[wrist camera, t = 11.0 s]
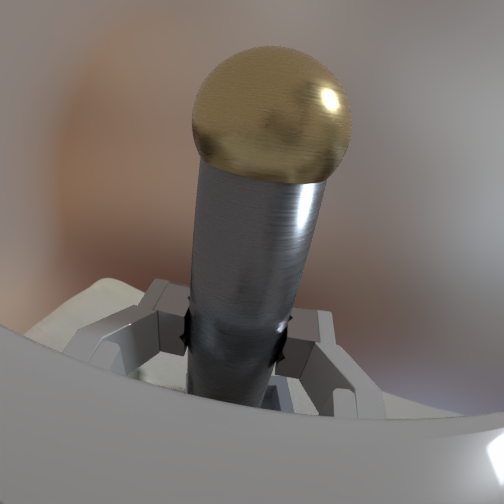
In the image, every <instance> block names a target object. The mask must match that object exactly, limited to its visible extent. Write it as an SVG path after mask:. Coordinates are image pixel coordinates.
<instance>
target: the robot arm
mask: <svg viewBox="0 0 504 504" xmlns="http://www.w3.org/2000/svg"><path fill="white" fill-rule="evenodd" d="M189 300H190V286H188V285H183V284H179V283H175V282H170V281H166V280H162V279H158V278H157V279H155V280H154V281H153V283H152V284H151V286H150V287H149V289H148V290H147V292H146V293H145V295H144V297H143V298H142V300H141V301H140V303H139V304H138V306H136V305H133V306H130V307H128V308H126V309H124V310H121V311H119V312H117V313H115V314H112V315H110V316H108V317H106V318H103V319H101V320H99V321H96V322H94V323H92V324H90V325H87V326H85V327H83V328H81V329H78V331H77V332H76V333H75V335H74V336H73V337H72V339H71V340H70V342H69V343H68V344H67V346H66V347H65V349H64V350H63V352H62V353H61V352H58V351H56V350H54V349H51V348H49V347H47V346H44V345H42V344H40V343H38V342H36V341H33V340H31V339H29V338H27V337H25V336H23V335H21V334H19V333H16V332H14V331H12V330H10V329H8V328H6V327H4V326H3V325H1V324H0V504H504V411H502V412H495V413H487V414H480V415H470V416H459V417H446V418H428V419H387V417H386V411H385V406H384V400H383V395H382V391H381V390H380V389H379V388H378V387H377V385H376V384H375V383H374V382H373V381H372V380H371V379H370V378H369V377H368V376H367V375H366V373H365V372H364V371H363V370H362V369H361V368H360V367H359V366H358V365H357V364H356V363H355V362H354V360H353V359H352V358H351V357H350V356H349V355H348V354H347V353H346V352H345V351H344V349H342V348H341V346H339V345H336V343H335V334H334V327H333V320H332V314H331V312H327V311H321V310H311V309H305V308H299V307H292V311H291V314H290V317H289V321H288V324H287V327H286V330H285V334H284V337H283V340H282V343H281V346H280V349H279V352H278V356H277V359H276V365H275V375H279V376H285V377H291V378H296V379H299V381H300V382H301V384H302V386H303V387H304V389H305V391H306V392H307V394H308V396H309V397H310V399H311V401H312V402H313V404H314V406H315V407H316V409H317V411H318V412H319V415H318V416H317V415H307V414H298V413H290V412H282V411H275V410H268V409H262V408H256V407H250V406H244V405H238V404H233V403H228V402H223V401H218V400H213V399H209V398H204V397H200V396H195V395H191V394H187V393H183V392H179V391H175V390H171V389H167V388H164V387H160V386H156V385H153V384H149V383H146V382H143V381H139V380H136V379H133V378H130V377H126V376H127V375H128V374H130V373H131V372H133V371H134V370H135V369H137V368H138V367H140V366H141V365H143V364H144V363H145V362H147V361H148V360H150V359H151V358H152V357H154V356H155V355H157V354H158V353H159V351H162V352H166V353H170V354H175V355H179V356H184V354H185V352H186V349H187V346H188V325H189Z"/></svg>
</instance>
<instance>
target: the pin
mask: <svg viewBox="0 0 504 504" xmlns="http://www.w3.org/2000/svg"><path fill="white" fill-rule="evenodd" d="M351 130H352V118H351V110H350V106H349V103H348V99H347V97H346V94H345V92H344V90H343V88H342V86H341V85H340V83H339V81H338V80H337V79H336V78H335V76H334V75H333V74H332V73H331V72H330V71H329V70H328V69H327V68H326V67H325V66H324V65H323V64H322V63H320V62H319V61H317V60H316V59H314V58H313V57H311V56H309V55H307V54H305V53H303V52H300V51H297V50H294V49H290V48H286V47H278V46H264V47H255V48H251V49H248V50H244V51H242V52H239V53H237V54H234V55H233V56H231V57H229V58H228V59H226V60H224V61H223V62H222V63H221V64H219V65H218V66H217V67H216V68H215V69H214V70H213V71H212V72H211V73H210V74H209V75H208V77H207V78H206V79H205V81H204V82H203V84H202V86H201V87H200V90H199V91H198V93H197V96H196V99H195V102H194V107H193V112H192V131H193V137H194V142H195V145H196V148H197V150H198V153H199V155H200V156H201V158H200V167H199V177H198V186H197V197H196V209H195V221H194V233H193V247H192V263H191V280H190V281H191V282H190V300H189V325H188V367H187V394H191V395H195V396H200V397H204V398H209V399H213V400H218V401H223V402H228V403H233V404H238V405H244V406H250V407H256V408H260V406H261V404H262V401H263V398H264V395H265V392H266V389H267V386H268V383H269V380H270V377H271V374H272V371H273V368H274V365H275V362H276V359H277V356H278V352H279V349H280V346H281V343H282V340H283V337H284V334H285V330H286V327H287V324H288V321H289V317H290V314H291V311H292V307H293V304H294V301H295V297H296V294H297V291H298V287H299V284H300V280H301V277H302V273H303V270H304V266H305V262H306V259H307V255H308V252H309V248H310V244H311V241H312V237H313V233H314V229H315V225H316V222H317V218H318V214H319V210H320V206H321V202H322V198H323V194H324V190H325V186H326V182H327V179H328V178H329V177H330V176H331V175H332V174H333V172H334V171H335V170H336V169H337V167H338V166H339V164H340V163H341V161H342V160H343V158H344V155H345V153H346V151H347V148H348V145H349V142H350V137H351Z"/></svg>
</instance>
